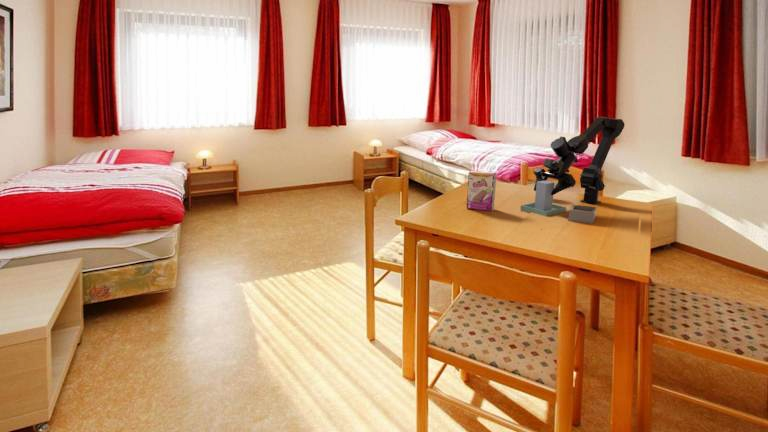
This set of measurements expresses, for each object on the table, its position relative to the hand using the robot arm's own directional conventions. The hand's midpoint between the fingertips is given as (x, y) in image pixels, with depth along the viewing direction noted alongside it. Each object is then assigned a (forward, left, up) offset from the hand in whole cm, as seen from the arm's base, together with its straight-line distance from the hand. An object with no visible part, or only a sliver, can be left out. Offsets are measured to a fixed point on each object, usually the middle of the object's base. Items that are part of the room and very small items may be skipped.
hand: (542, 192), depth 195 cm
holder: (-3, +18, -8) cm, 20 cm away
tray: (-1, 0, -8) cm, 8 cm away
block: (-1, 0, -8) cm, 8 cm away
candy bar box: (+18, -18, -9) cm, 27 cm away
